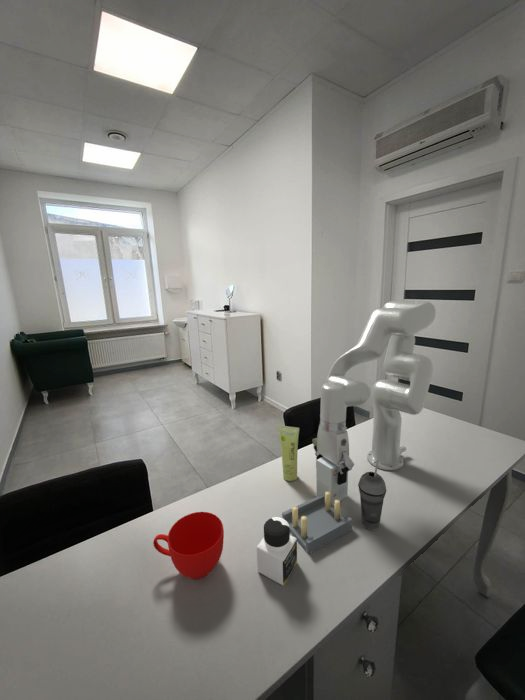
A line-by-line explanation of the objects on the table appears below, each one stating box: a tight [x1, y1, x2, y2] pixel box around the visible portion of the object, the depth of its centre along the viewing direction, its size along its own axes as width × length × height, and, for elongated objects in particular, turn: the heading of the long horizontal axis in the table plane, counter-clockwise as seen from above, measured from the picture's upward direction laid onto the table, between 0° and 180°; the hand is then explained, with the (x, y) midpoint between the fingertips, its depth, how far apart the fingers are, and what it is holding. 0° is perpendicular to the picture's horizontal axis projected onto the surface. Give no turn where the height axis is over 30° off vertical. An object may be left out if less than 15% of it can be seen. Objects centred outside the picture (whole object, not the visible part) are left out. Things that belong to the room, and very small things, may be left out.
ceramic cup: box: [152, 511, 225, 580], centre depth 72 cm, size 13×17×10 cm
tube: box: [277, 424, 300, 482], centre depth 103 cm, size 6×5×20 cm
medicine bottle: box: [256, 516, 298, 586], centre depth 71 cm, size 7×7×12 cm
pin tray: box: [281, 492, 353, 555], centre depth 83 cm, size 15×12×7 cm
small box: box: [315, 456, 349, 507], centre depth 94 cm, size 8×6×13 cm
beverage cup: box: [357, 461, 387, 531], centre depth 82 cm, size 7×7×20 cm
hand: (330, 474), depth 93 cm, fingers open, 9 cm apart
